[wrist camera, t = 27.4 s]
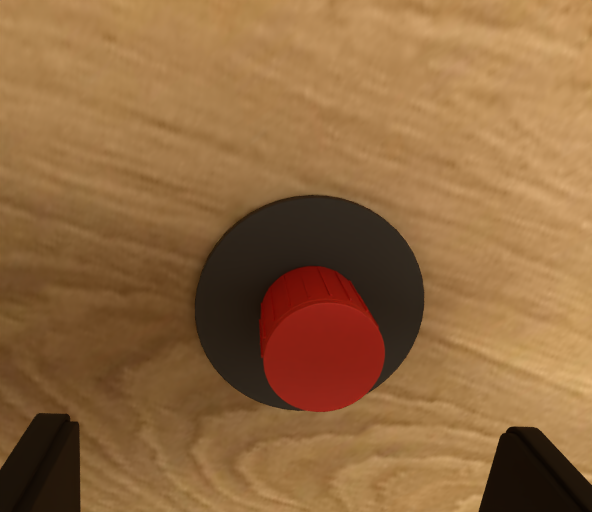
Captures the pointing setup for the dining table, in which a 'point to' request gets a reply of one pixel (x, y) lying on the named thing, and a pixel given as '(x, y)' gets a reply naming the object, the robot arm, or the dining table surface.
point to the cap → (319, 340)
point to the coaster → (295, 254)
